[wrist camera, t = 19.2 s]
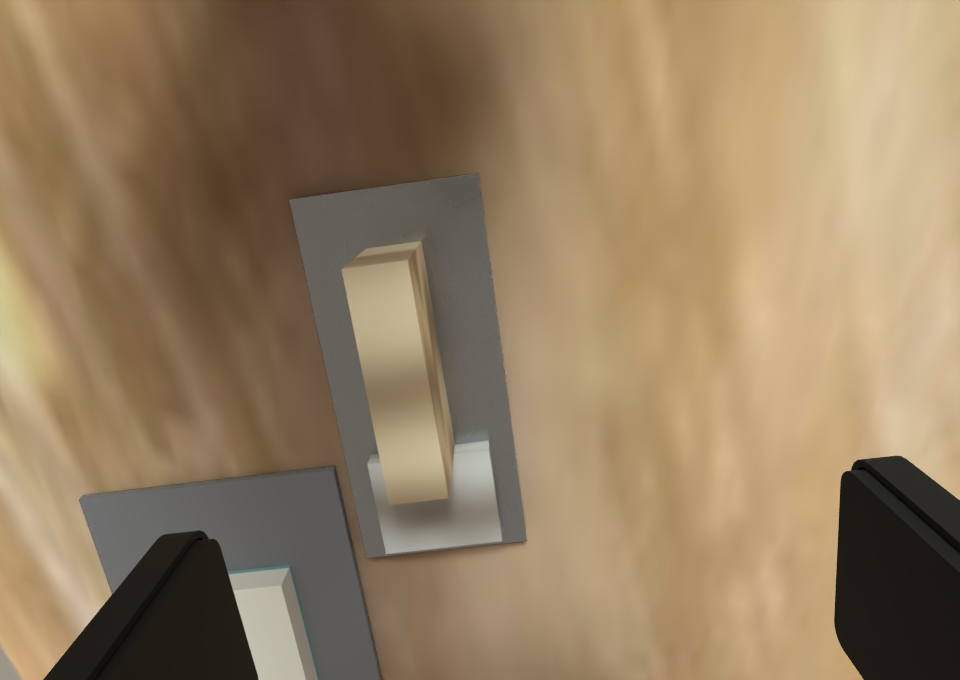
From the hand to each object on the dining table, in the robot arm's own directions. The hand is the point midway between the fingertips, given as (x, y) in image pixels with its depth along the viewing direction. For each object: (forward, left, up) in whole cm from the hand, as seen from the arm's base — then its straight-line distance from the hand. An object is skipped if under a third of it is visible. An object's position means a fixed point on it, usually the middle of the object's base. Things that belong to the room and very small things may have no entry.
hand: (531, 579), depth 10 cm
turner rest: (+6, -6, -27) cm, 29 cm away
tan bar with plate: (+6, -6, -26) cm, 27 cm away
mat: (+20, -20, -27) cm, 39 cm away
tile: (+22, -20, -26) cm, 39 cm away
